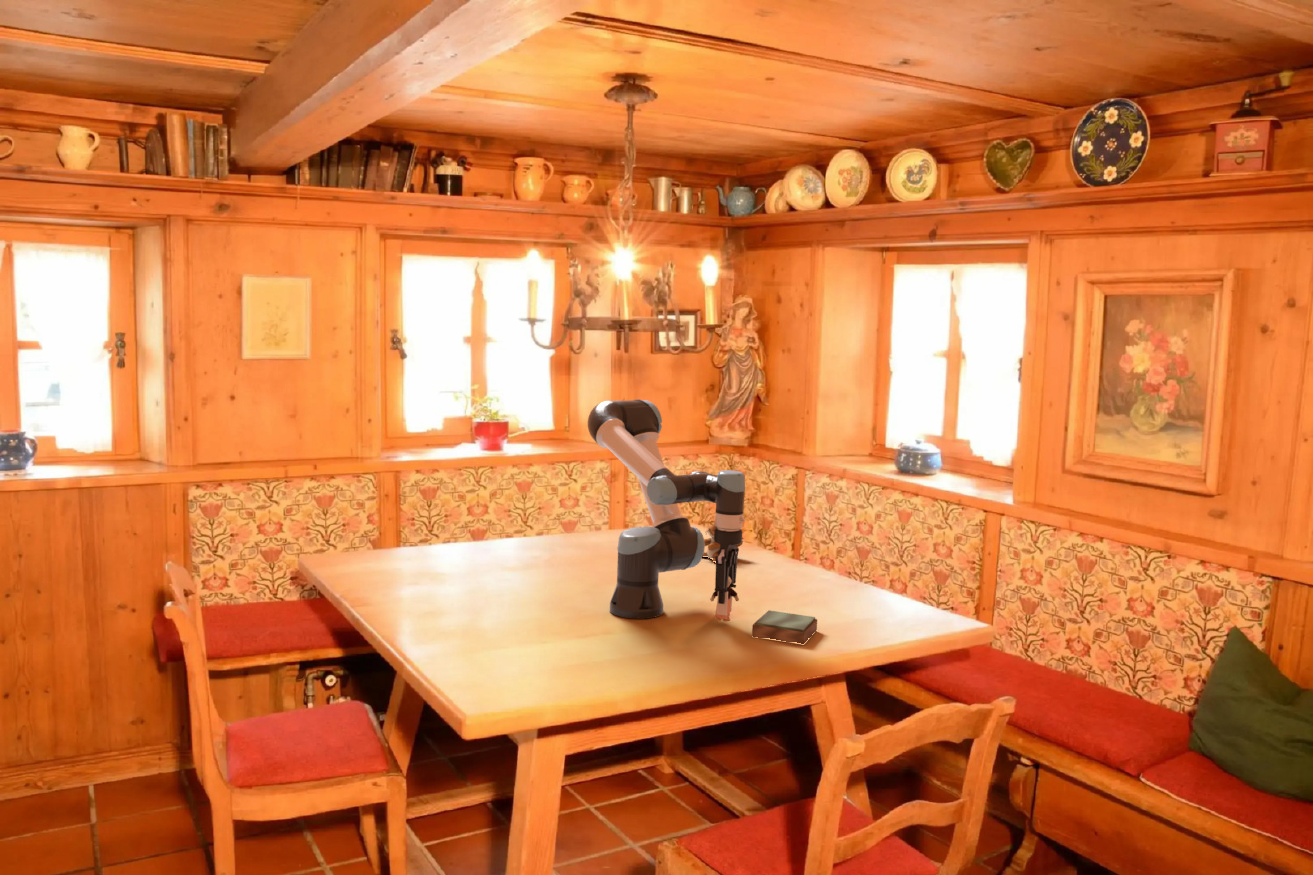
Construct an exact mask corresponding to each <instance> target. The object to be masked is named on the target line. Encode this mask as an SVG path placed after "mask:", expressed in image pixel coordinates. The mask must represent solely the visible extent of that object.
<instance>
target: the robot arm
mask: <svg viewBox="0 0 1313 875" xmlns="http://www.w3.org/2000/svg"><path fill="white" fill-rule="evenodd" d="M662 423H663V419H662V415H661V412H660V410H659V408H658V407H657V405H656V404H654V403H653V402H651V401H650V400H646V399H645V400H644V399H640V398H639V399H631V400H628V399H627V400H604V401H602V402H599V403H598V404H596V405H595V406H594V407H593V408H592V409H591V411H590V413H589V415H588V418H587V429H588V432H589V434H590V437H591V438H592V439H593V441H595V443H596V444H597V445H598V446H599V447H601V448H603V449H608V450H609V451H610V452H611V453H612V454H613V455H614V456H615V457H616V458H617V459H618V460H619V461H620V462H621V463H622V464H623V465H624V466H625V467H626V468H627V469H628V470H629V471H630V472H631V473H632V474H634V476H636V478H637V479H638V482H639V486H640V487H641V488H640V489H641V492H642V495H643V497H644V501H645V504H646V506H647V509H648V510H647V511H648V513H649V515H650V518H651V522H652V526H637V527H630V528H628V529H626V530H624V531H622V532H621V533H620V535H619V537H618V544H617V547H616V548H617V567H616V568H617V569H616V570H617V571H616V585H615V588H614V590H613V594H612V596H611V599H610V602H609V612H610V613H611V614H613V615H614V616H616V617H620V618H626V619H635V620H636V619H637V620H638V619H640V620H642V619H644V620H645V618H646V619H652V618H651V617H653V618H656V617H655V616H657V617H660V616H661V614H662V613H663V614H664V602H663V598H662V595H661V591H660V588H659V577H660V576H659V573H666V572H667V573H668V572H673V571H683V570H684V571H685V570H687V569H691V568H694V567H696V566H698V565H699V564H700V563H701V561H702V559H703V558H702V557H703V553H705V547H706V546H705V543H704V539H705V538H704V535H703V533H702V532H701V530H700V529H699V528H697V527H695V526H691V524H690V521H689V518H688V517H687V516H684V515H682V514H681V511H680V508H679V505H678V504H683V503H694V502H695V503H696V502H709V503H713V504H715V514H714V523H715V526H716V527H717V528H715V532H714V541H715V542H716V543H719V544H720V549H719V551H718V556H716V557H715V561H716V563H715V579H714V580H715V582H714V585H715V586H714V592H715V591H718V596H717V599H716V600H717V601H716V607H717V614H719V615H725V616H726V615H727V605H728V591H727V585H728V576H729V577H730V578H731V580H732V582H731V584H730V586H729V588H731V589H733V590H734V589H736V588H737V585H736V582H737V569H738V568H737V567H738V557H739V551H740V548H739V547H738V548H736V545H738V544H740V543H741V542H742V541H743V539H742V537H743V530H742V528H743V522H745V520H746V519H745V517H744V511H745V510H744V507H745V494H746V493H745V492H746V475H745V474H744V472H742V471H739V470H731V469H726V470H720V471H718V472H717V475H716V474H713V473H709V472H706V471H699V470H696V471H695V470H694V471H693V472H691V473H689V474H679V475H676V474H675V473H673V472H672V471H671V470H670V469H668V467H667V466H666V465H665V463H664V461H663V458H662V455H661V452H660V449H659V446H658V443H657V442H658V440H659V439H660V433H661V430H662V429H663V425H662ZM742 543H743V542H742ZM730 599H731V609H730V613H731V612H732V609H733V608H732V607H733V605H732V604H733V596H730ZM663 614H662V615H663Z"/></svg>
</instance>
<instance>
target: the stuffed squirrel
mask: <svg viewBox="0 0 1313 875" xmlns="http://www.w3.org/2000/svg"><path fill="white" fill-rule="evenodd" d="M715 528H717V527H716V526H715V522H714V523H712V524H711V525H710V526H709V527H708V529H707V530H706V531H705V532H704V533H705V535H706V536H707V533H708V535H709V537H710V538H709V537H708V538H704V543H705V547H707V552H704V553H703V556H708V557H709V558H713V561H715V557H716V556H718V551H719V549H720V544H719V543H716V542H715V541H714V532H715ZM743 540H745V537H743V536H742V542H741V543H740V544H738V545H736V548H739V547H740V546H742V545H743V542H744V541H743ZM709 558H708V559H709ZM713 561H712V562H713Z"/></svg>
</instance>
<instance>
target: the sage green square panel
mask: <svg viewBox="0 0 1313 875" xmlns="http://www.w3.org/2000/svg"><path fill="white" fill-rule="evenodd" d="M751 626H752V628H751V637H752V636H753V637H758V638H770V639H776V640H781V641H786V642H797V643H801V644H804V643H805V642H806V641H807V640H808V638H810V637H811V636H812V634H813V633H814V632H815V631H816V630H817V631H818V619H817V618H816V617H815V616H811V615H803V614H798V613H797V614H796V613H790V612H783V611H777V610H770V609H769V610H768V611H766V612H765V613H764V614H762V615H761V617H759V618H758V619H757V620H756V621H755V622H754V623H753V624H752V625H751ZM817 631H816V632H817ZM812 637H813V636H812ZM812 637H811V638H812ZM758 638H757V639H758ZM811 638H810V639H811ZM808 641H809V640H808Z"/></svg>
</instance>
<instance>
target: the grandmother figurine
mask: <svg viewBox="0 0 1313 875" xmlns="http://www.w3.org/2000/svg"><path fill="white" fill-rule="evenodd" d="M731 582H732V580H731V578H730V577H729V576H728V585H727V591H728V605H727V615H726V616H725V615H719V614H717V606H716V608H715V609H716V610H715V617H714V618H713V621H715V622H721V621H722V620H723V621H724V622H730V621H731V618H730V616H731V612H730V609H731V599H730V596H732V598H734V599H735V601H736V602H739V600H740V598H739V596H738V593H737V592H736V591H735V590H734V588H733V589H731V588H729V586H730V584H731ZM716 597H718V591H715V590H714V592H713V593H712V595H711V597H710V598H709V599H710V601H711V602H714V600H715V599H716Z"/></svg>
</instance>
